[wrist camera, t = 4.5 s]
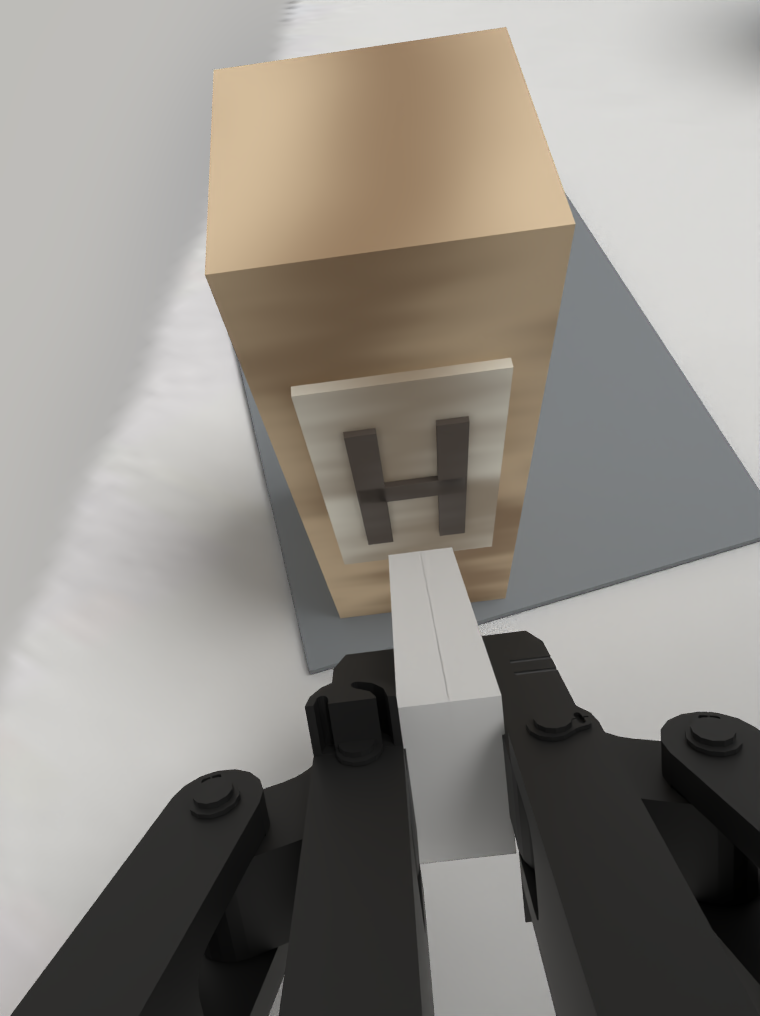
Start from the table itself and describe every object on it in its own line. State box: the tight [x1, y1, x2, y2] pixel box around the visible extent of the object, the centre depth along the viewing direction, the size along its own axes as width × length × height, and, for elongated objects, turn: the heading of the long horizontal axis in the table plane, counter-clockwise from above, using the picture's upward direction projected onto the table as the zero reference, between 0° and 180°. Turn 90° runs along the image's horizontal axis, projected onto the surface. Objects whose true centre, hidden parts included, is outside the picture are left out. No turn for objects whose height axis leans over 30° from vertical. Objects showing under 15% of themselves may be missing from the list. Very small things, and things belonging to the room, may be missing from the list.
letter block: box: [205, 27, 575, 618], centre depth 19 cm, size 6×6×16 cm
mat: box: [238, 193, 760, 674], centre depth 30 cm, size 18×22×1 cm
